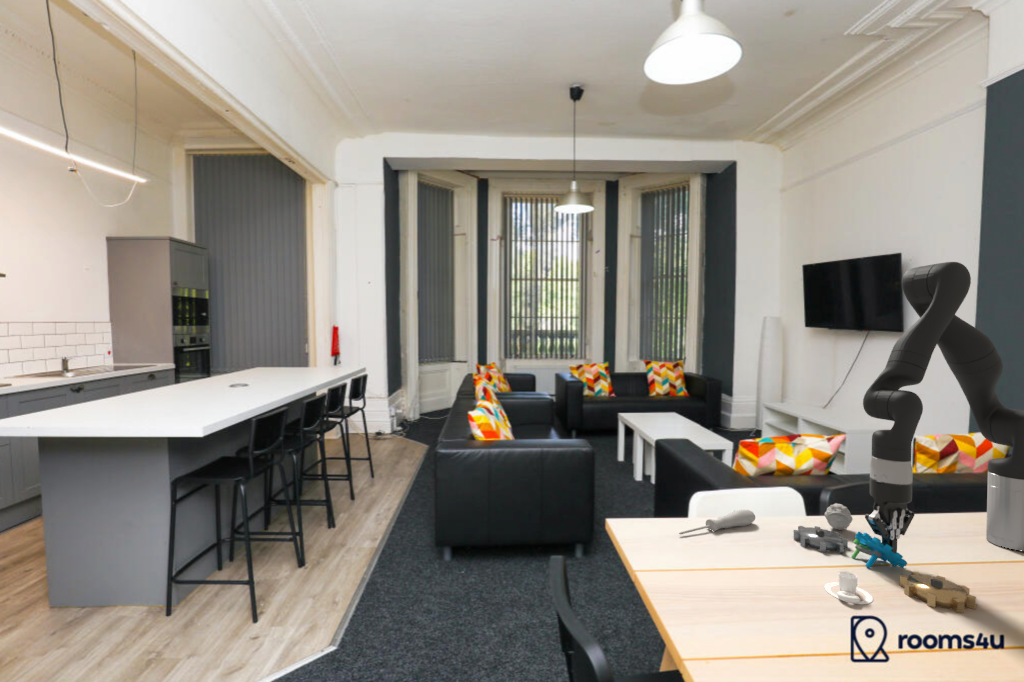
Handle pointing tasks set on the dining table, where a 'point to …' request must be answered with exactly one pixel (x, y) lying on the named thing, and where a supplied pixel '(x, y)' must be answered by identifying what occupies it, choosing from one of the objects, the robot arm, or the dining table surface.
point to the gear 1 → (820, 539)
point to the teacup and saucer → (848, 589)
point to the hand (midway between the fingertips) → (889, 553)
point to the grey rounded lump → (838, 516)
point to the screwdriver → (728, 521)
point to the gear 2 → (876, 550)
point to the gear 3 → (937, 591)
